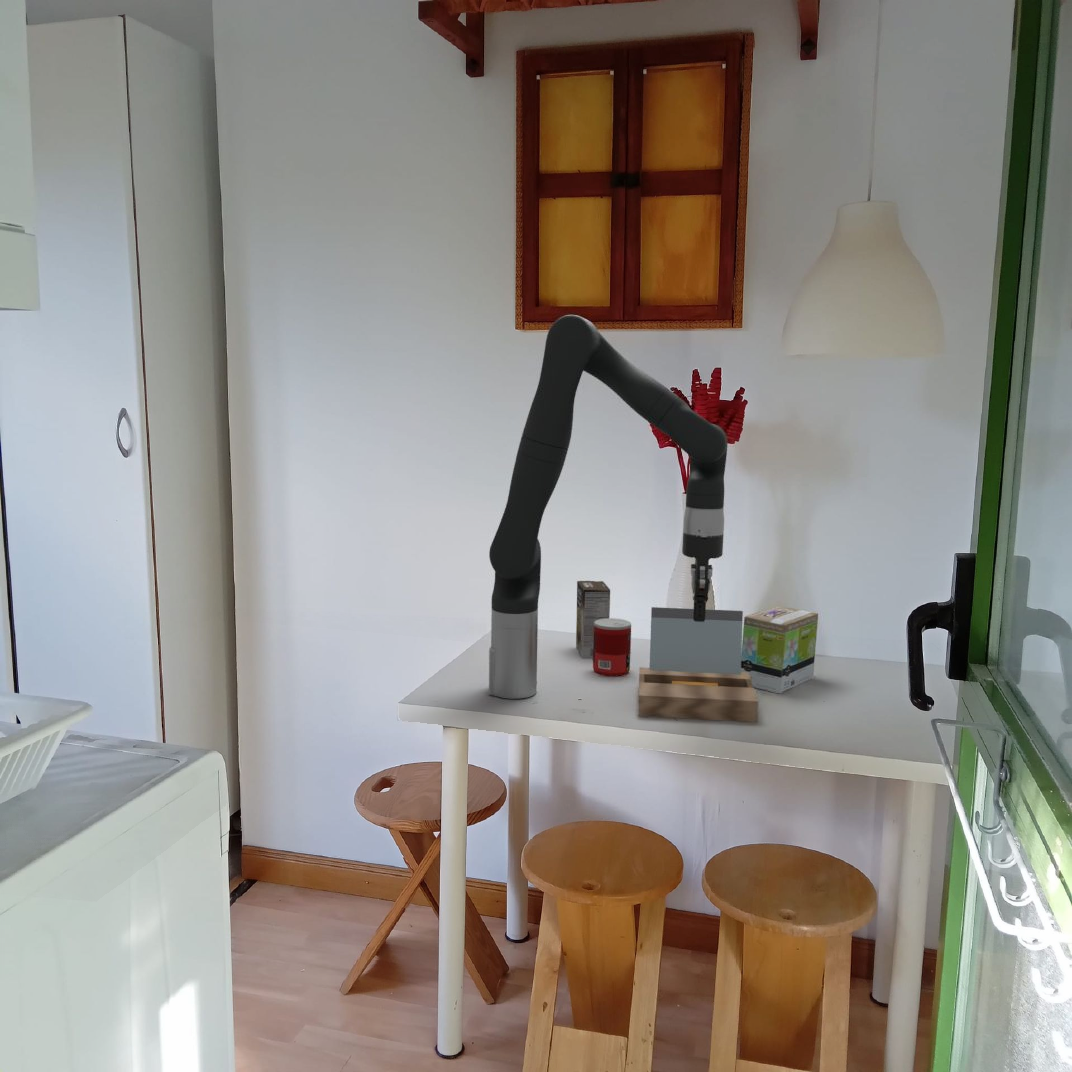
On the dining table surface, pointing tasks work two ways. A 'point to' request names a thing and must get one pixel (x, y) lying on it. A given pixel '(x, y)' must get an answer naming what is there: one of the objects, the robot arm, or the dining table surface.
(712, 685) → the tall orange dowel
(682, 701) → the wooden tray
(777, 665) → the tea box
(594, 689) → the dining table surface
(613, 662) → the canned food
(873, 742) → the dining table surface
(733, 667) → the cover
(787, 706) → the dining table surface
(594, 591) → the coffee box
